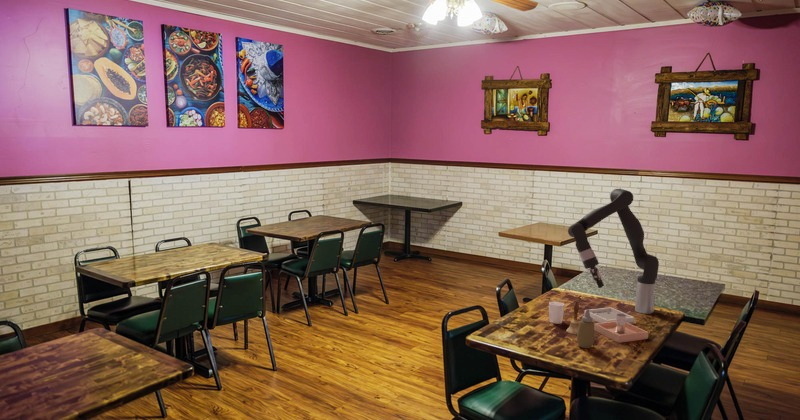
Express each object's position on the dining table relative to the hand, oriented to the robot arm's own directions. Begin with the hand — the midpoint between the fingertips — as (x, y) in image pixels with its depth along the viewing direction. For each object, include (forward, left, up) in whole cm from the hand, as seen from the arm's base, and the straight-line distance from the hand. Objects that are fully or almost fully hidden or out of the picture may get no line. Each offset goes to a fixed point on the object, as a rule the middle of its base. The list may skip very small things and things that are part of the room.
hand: (601, 286), depth 298 cm
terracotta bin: (+2, +18, -20) cm, 27 cm away
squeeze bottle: (+30, +26, -20) cm, 44 cm away
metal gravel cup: (+2, +18, -19) cm, 26 cm away
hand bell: (+22, +8, -20) cm, 30 cm away
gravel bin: (-8, -2, -20) cm, 21 cm away
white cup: (+22, -8, -20) cm, 31 cm away
